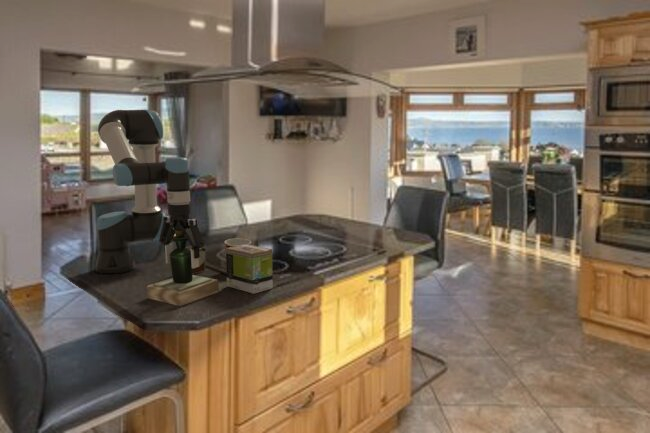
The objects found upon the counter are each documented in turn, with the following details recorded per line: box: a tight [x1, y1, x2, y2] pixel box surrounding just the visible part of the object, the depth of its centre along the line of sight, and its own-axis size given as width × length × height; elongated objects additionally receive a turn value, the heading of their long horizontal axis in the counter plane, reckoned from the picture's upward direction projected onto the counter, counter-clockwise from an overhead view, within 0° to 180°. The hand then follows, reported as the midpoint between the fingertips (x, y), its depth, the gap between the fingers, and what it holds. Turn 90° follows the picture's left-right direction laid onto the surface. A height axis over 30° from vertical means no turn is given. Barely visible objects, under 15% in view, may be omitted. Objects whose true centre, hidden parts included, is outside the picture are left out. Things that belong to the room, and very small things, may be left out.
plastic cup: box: [224, 237, 252, 249], centre depth 224 cm, size 11×11×12 cm
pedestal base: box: [146, 274, 220, 307], centre depth 192 cm, size 16×18×5 cm
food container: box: [185, 245, 208, 275], centre depth 221 cm, size 12×6×10 cm, turn 141°
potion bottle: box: [170, 230, 194, 283], centre depth 190 cm, size 8×8×18 cm
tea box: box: [225, 244, 274, 294], centre depth 200 cm, size 15×10×15 cm
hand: (182, 265), depth 190 cm, fingers open, 12 cm apart
